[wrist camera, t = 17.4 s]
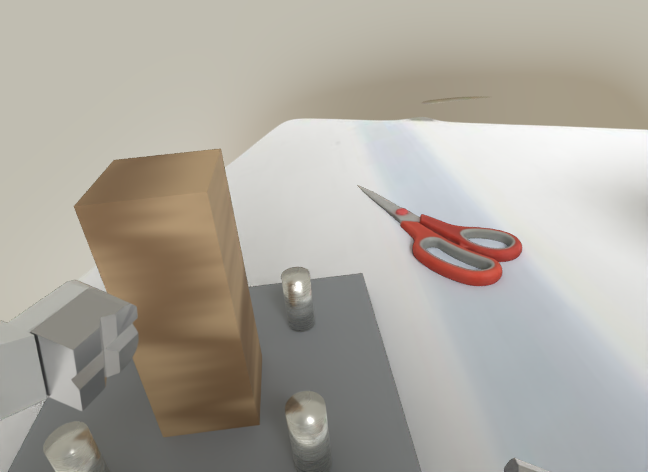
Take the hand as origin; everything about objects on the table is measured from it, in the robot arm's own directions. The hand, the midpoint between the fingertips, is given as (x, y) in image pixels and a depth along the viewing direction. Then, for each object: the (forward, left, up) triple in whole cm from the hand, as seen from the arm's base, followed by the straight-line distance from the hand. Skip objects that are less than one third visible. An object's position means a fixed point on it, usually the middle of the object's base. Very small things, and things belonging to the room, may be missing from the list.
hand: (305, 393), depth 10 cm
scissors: (-9, -28, -13) cm, 32 cm away
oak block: (+5, -10, -11) cm, 16 cm away
